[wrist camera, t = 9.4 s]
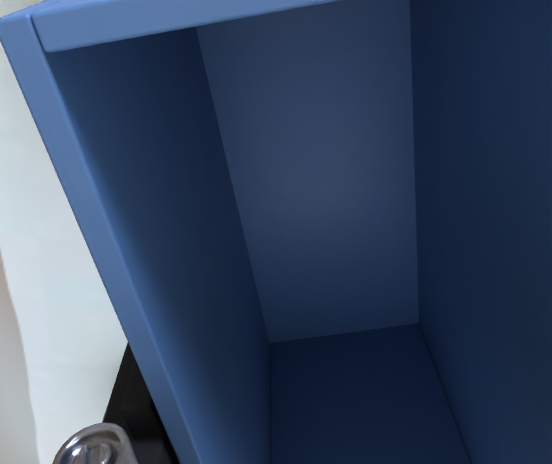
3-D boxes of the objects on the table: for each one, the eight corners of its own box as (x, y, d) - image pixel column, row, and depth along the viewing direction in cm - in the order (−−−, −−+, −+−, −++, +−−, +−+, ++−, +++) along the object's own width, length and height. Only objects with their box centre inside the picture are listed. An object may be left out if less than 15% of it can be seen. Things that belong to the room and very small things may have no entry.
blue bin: (417, -96, 14) (723, -117, 5) (425, 320, 22) (547, 626, 12) (166, -47, 15) (-11, 20, 5) (261, 343, 22) (259, 654, 13)
